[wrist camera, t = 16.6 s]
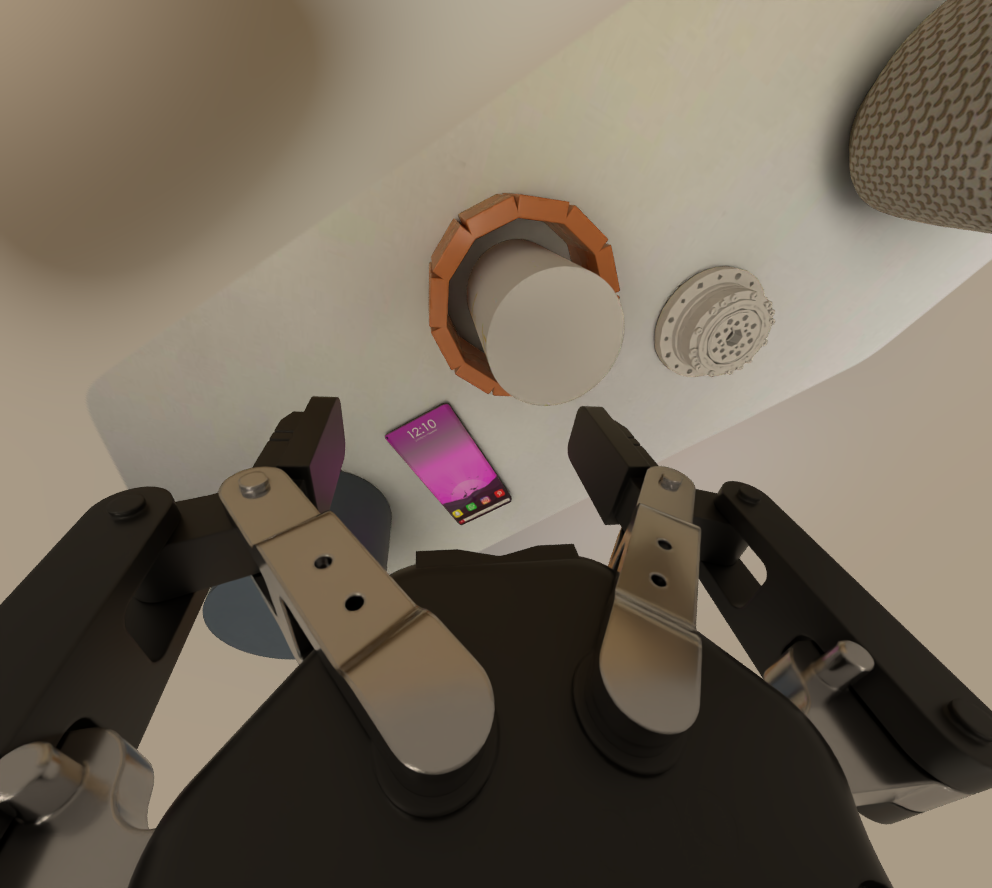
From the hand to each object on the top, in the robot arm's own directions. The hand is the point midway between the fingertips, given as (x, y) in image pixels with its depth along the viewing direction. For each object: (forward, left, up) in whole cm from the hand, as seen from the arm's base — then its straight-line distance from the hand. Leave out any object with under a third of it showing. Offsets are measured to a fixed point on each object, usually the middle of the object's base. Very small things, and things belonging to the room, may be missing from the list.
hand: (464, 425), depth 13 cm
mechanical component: (+24, -6, -21) cm, 33 cm away
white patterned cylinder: (+6, -1, -21) cm, 22 cm away
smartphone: (-2, -18, -21) cm, 28 cm away
